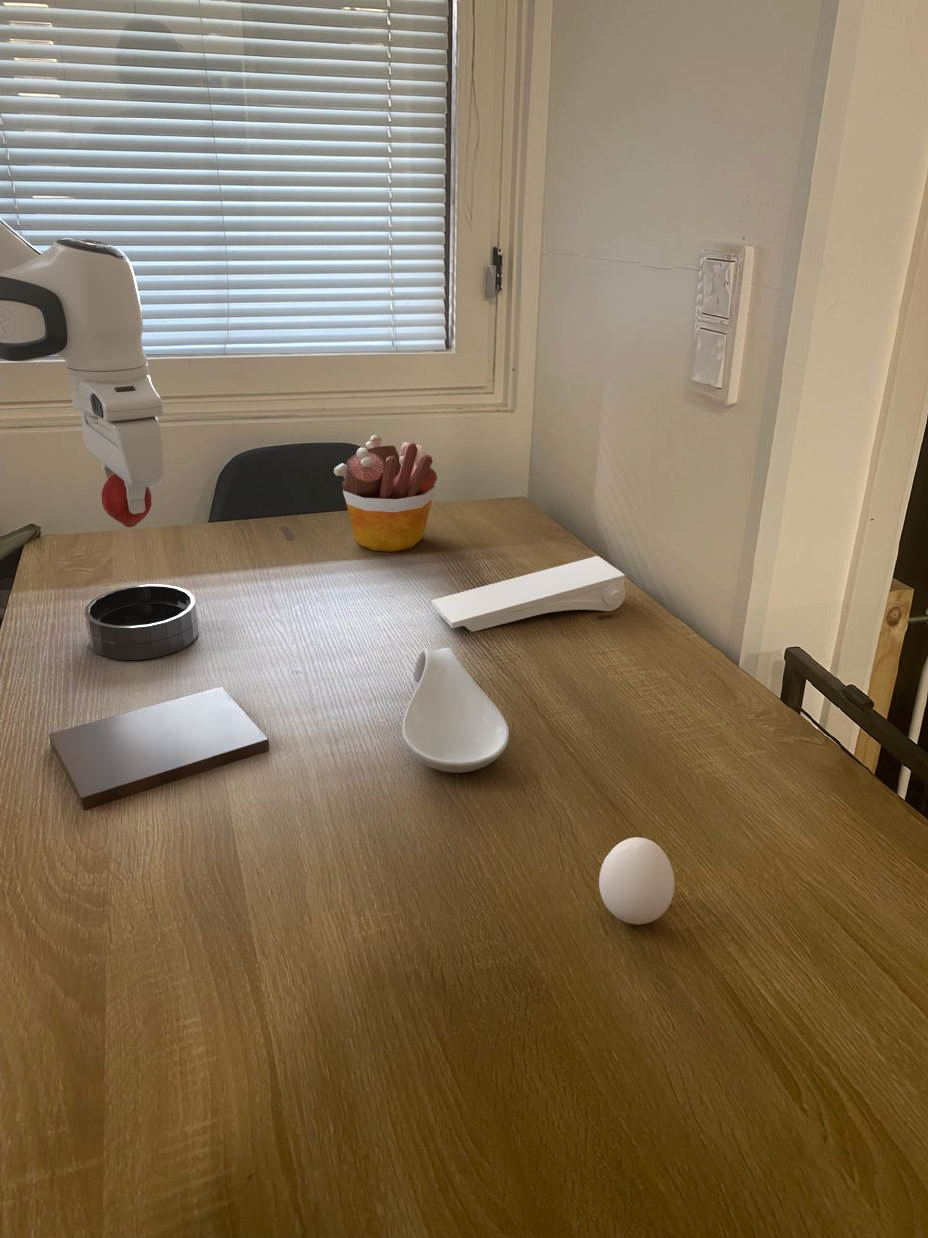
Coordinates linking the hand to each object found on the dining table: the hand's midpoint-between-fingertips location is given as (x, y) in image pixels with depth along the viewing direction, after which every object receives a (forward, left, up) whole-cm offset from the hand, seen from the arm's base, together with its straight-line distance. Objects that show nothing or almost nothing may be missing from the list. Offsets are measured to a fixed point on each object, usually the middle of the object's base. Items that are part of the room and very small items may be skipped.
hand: (127, 503), depth 112 cm
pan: (+1, +6, -21) cm, 22 cm away
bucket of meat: (+49, +21, -21) cm, 58 cm away
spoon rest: (+23, -36, -21) cm, 48 cm away
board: (-6, -22, -21) cm, 31 cm away
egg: (+20, -70, -21) cm, 76 cm away
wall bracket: (+52, -15, -21) cm, 59 cm away
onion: (0, 0, -3) cm, 3 cm away
